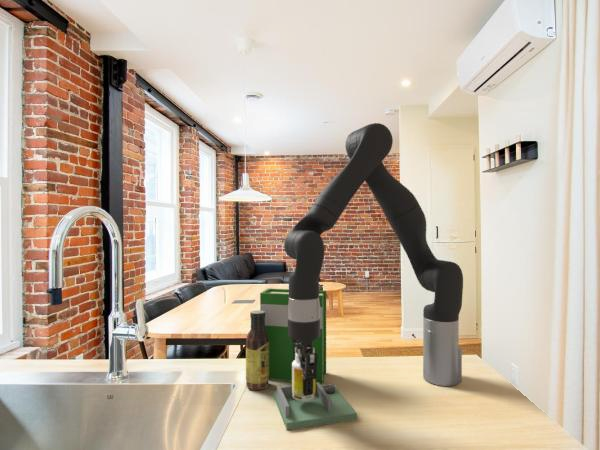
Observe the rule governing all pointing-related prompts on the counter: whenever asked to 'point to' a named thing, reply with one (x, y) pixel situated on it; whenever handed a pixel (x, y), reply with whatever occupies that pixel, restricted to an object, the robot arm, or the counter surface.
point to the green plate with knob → (313, 407)
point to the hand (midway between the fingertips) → (304, 388)
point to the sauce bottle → (257, 353)
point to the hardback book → (278, 337)
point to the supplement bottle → (300, 382)
